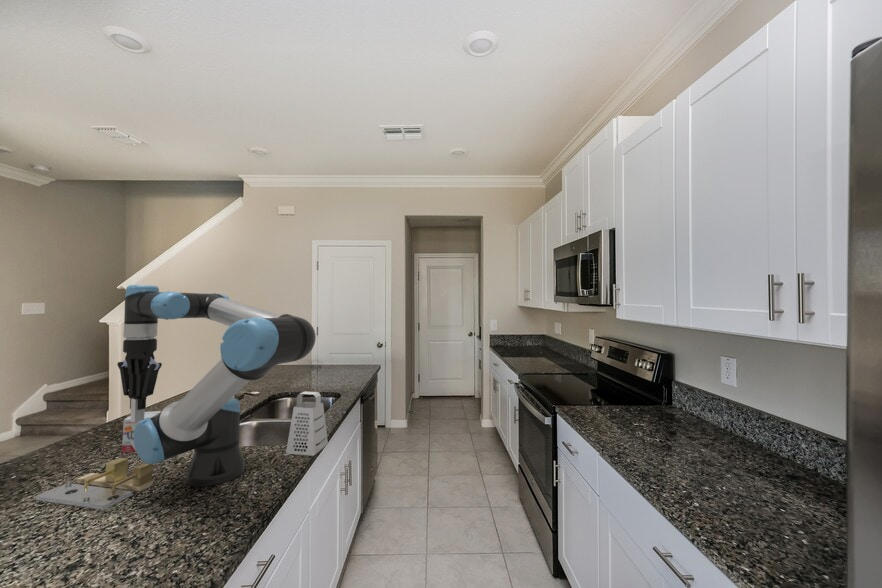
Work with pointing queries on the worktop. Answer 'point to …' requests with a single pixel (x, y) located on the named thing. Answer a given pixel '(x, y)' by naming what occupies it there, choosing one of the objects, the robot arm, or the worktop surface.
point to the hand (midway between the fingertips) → (137, 420)
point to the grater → (307, 426)
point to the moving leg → (112, 472)
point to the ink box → (132, 431)
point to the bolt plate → (84, 496)
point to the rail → (125, 479)
